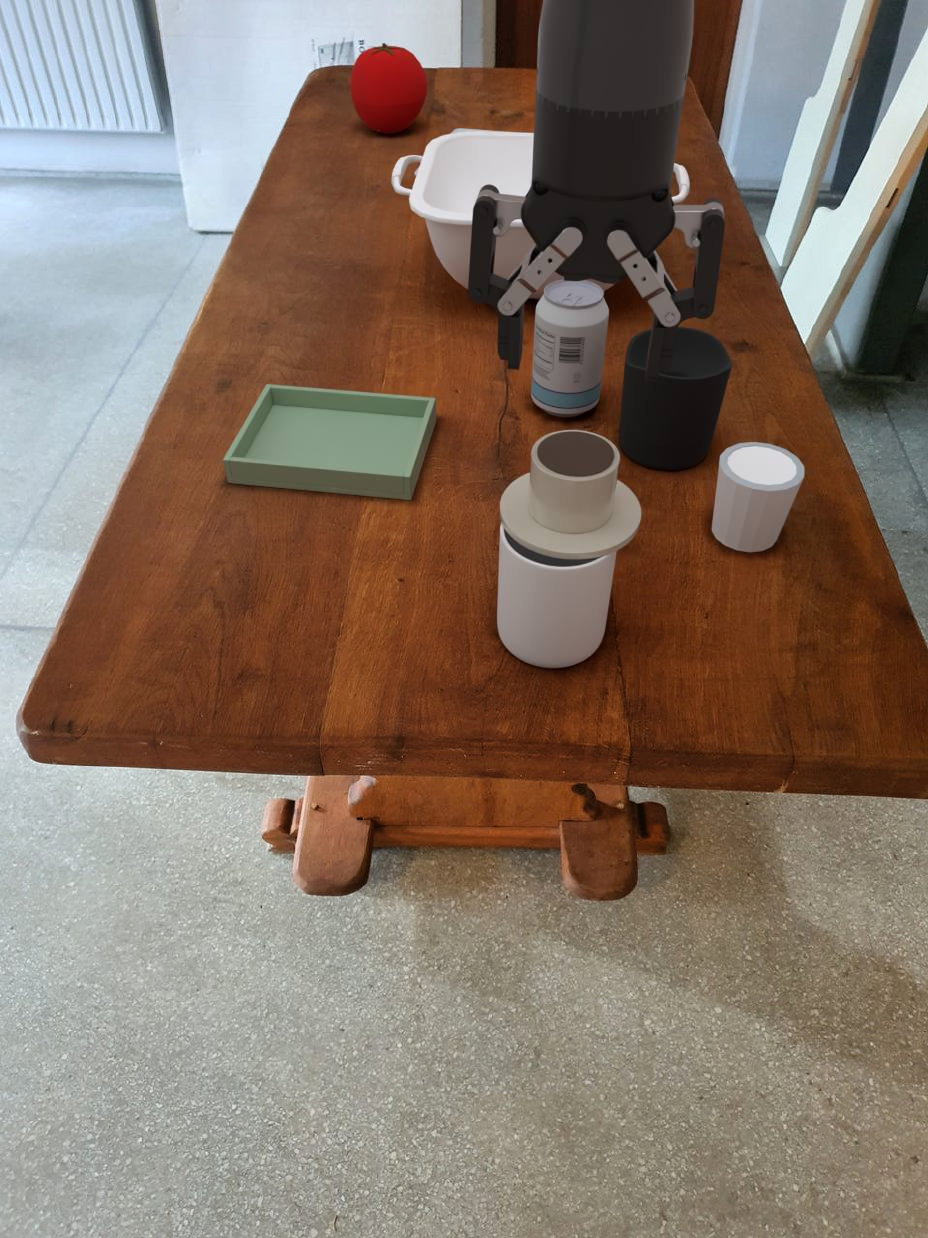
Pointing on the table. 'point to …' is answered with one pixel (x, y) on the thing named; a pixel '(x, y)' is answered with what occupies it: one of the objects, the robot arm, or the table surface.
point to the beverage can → (569, 347)
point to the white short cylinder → (754, 495)
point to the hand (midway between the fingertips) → (582, 369)
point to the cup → (551, 604)
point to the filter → (571, 499)
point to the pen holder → (673, 401)
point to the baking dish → (453, 189)
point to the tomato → (388, 88)
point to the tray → (333, 441)
